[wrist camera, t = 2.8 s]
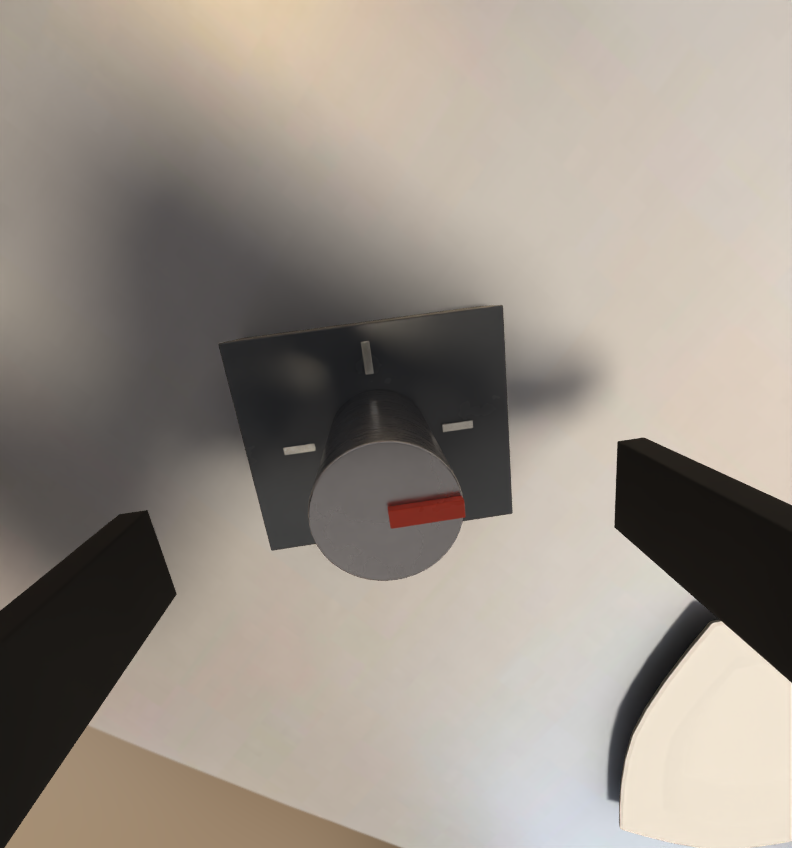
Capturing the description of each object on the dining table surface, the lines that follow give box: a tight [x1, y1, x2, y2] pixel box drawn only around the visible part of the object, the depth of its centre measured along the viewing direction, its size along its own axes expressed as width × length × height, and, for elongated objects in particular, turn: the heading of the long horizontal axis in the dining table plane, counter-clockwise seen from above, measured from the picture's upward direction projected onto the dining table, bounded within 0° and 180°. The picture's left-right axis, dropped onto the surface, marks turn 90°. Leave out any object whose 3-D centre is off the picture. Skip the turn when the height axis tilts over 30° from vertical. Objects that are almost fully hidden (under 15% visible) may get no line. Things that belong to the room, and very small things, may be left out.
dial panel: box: [219, 305, 512, 550], centre depth 19 cm, size 12×10×3 cm
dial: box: [308, 390, 466, 581], centre depth 14 cm, size 4×4×7 cm
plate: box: [619, 619, 792, 848], centre depth 28 cm, size 23×23×2 cm
